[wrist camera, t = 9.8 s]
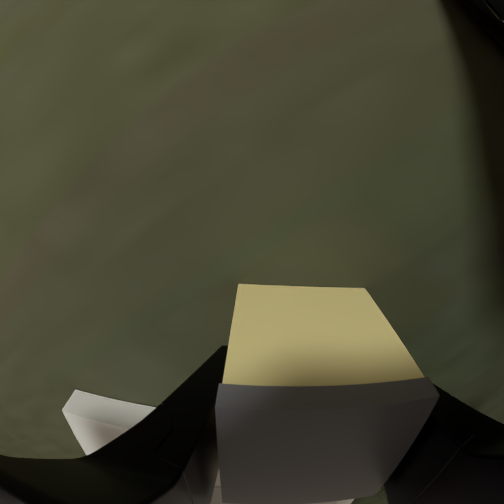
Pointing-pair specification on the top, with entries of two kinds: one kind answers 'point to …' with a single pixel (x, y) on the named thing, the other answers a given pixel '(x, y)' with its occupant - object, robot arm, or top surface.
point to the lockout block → (314, 397)
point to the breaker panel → (115, 425)
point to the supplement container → (489, 16)
